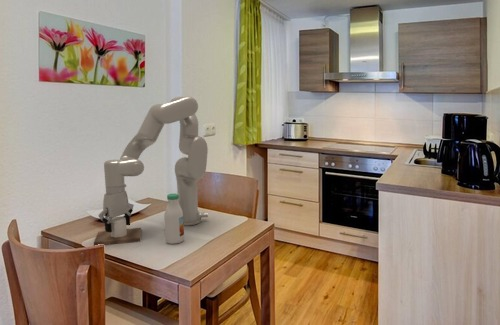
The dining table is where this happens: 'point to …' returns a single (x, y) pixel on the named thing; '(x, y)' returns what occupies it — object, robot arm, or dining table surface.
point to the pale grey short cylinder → (118, 227)
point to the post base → (106, 238)
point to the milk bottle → (173, 220)
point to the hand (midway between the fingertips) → (118, 228)
